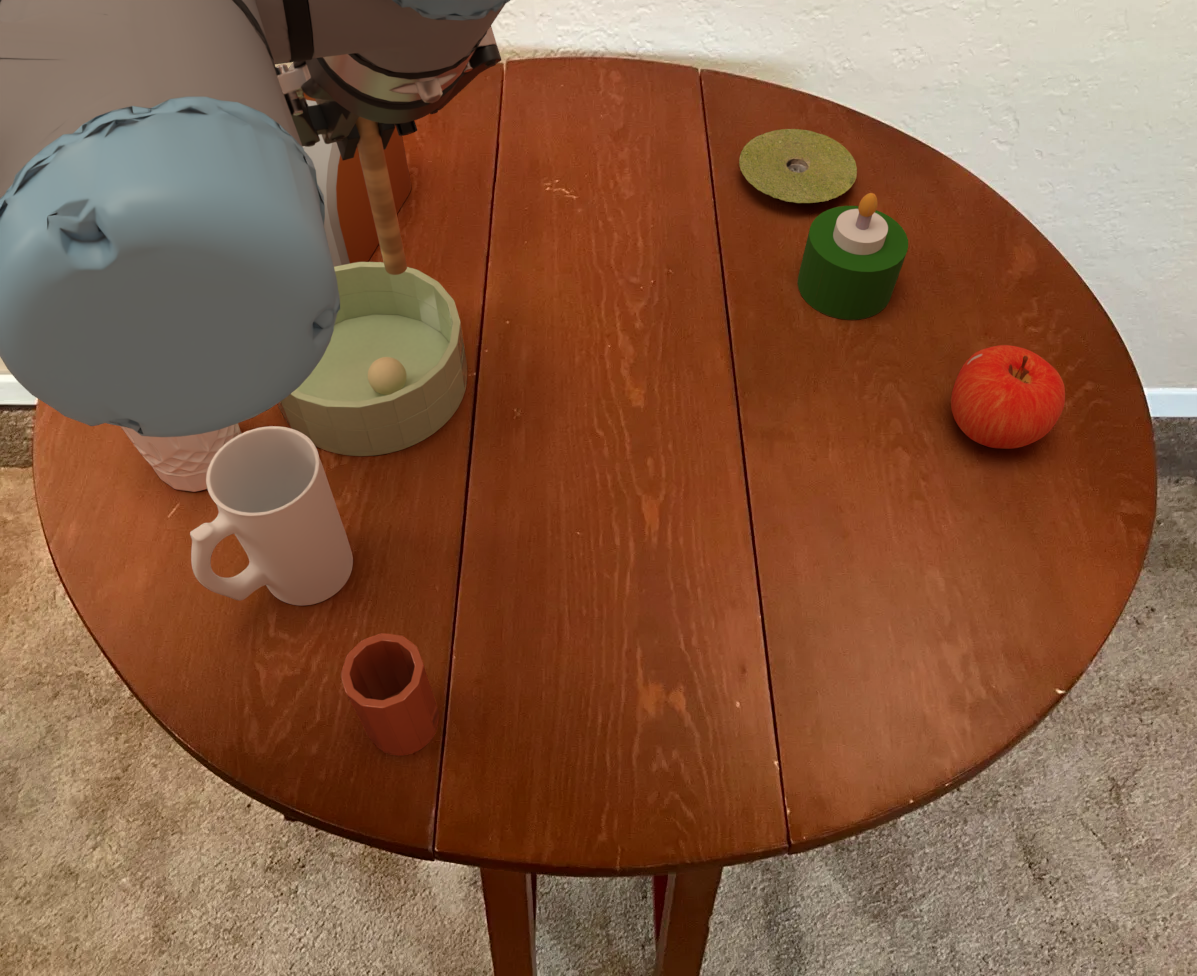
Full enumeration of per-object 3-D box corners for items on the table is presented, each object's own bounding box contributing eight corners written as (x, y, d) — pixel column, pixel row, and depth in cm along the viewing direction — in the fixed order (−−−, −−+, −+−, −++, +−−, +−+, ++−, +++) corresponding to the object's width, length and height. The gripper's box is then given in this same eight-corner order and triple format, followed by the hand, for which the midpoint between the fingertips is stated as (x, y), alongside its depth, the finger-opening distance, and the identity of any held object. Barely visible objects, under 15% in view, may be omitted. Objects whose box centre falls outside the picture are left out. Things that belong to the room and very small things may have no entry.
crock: (352, 727, 62) (324, 676, 55) (402, 674, 64) (381, 619, 58) (404, 770, 60) (382, 723, 54) (454, 714, 63) (438, 662, 56)
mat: (874, 177, 94) (879, 160, 93) (811, 235, 89) (815, 218, 88) (779, 131, 99) (782, 114, 97) (713, 183, 94) (715, 166, 92)
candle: (778, 282, 86) (798, 189, 78) (839, 241, 89) (865, 148, 81) (849, 334, 82) (878, 243, 74) (910, 290, 86) (945, 197, 77)
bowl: (239, 394, 78) (215, 343, 73) (373, 289, 85) (360, 236, 80) (374, 489, 73) (359, 440, 68) (505, 369, 80) (500, 317, 75)
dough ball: (363, 390, 77) (356, 365, 75) (390, 368, 79) (383, 343, 76) (390, 408, 76) (384, 383, 74) (416, 385, 78) (411, 360, 75)
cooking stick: (380, 269, 70) (324, 31, 55) (395, 257, 71) (345, 19, 56) (396, 278, 70) (344, 41, 55) (411, 266, 70) (364, 28, 56)
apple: (921, 434, 76) (953, 366, 70) (965, 373, 80) (999, 303, 73) (1016, 485, 74) (1059, 419, 67) (1057, 419, 77) (1101, 351, 71)
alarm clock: (337, 165, 95) (303, 32, 83) (418, 180, 93) (395, 48, 82) (267, 265, 86) (220, 133, 75) (355, 284, 85) (320, 152, 74)
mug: (317, 511, 71) (274, 408, 62) (377, 564, 69) (342, 465, 59) (202, 601, 67) (136, 505, 57) (262, 661, 65) (203, 572, 55)
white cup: (221, 401, 77) (178, 311, 69) (274, 459, 74) (235, 373, 66) (130, 453, 74) (73, 366, 66) (181, 517, 71) (128, 434, 63)
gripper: (260, 145, 42) (270, 219, 64) (567, 66, 46) (476, 162, 68) (194, -36, 40) (228, 104, 63) (518, -103, 44) (441, 52, 66)
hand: (357, 134), depth 65 cm, fingers closed on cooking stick, 1 cm apart
